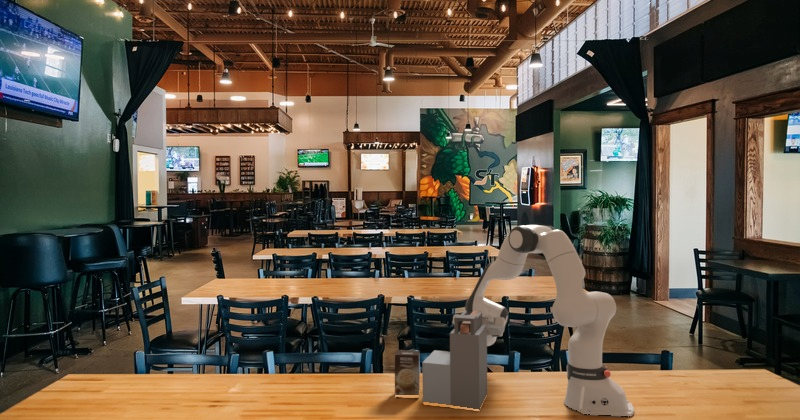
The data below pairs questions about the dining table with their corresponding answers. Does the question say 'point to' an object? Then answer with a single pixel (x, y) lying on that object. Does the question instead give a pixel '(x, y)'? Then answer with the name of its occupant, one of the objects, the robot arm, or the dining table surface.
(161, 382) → the dining table surface
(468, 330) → the bar
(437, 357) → the stepped stand
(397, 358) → the coffee box
